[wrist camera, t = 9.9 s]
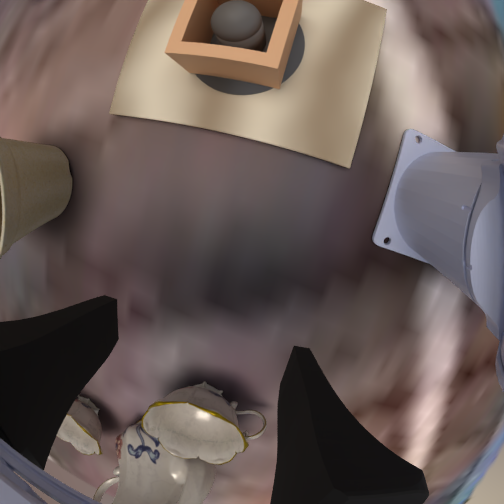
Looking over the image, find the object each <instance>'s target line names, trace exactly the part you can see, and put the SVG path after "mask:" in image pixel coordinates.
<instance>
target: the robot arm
mask: <svg viewBox="0 0 504 504" xmlns="http://www.w3.org/2000/svg"><path fill="white" fill-rule="evenodd" d="M416 136H418V137H419V139H420V141H419V143H417V142H416V140H415V137H416ZM496 149H497V152H498V154H496V153H476V152H456V151H454V150H452V149H450V148H449V147H447V146H445V145H443V144H441V143H439V142H438V141H436V140H434V139H432V138H430V137H428V136H426V135H424V134H422V133H420V132H418V131H416V130H414V129H408V130H406V131H405V132H404V134H403V138H402V142H401V146H400V150H399V153H398V157H397V161H396V164H395V168H394V171H393V175H392V178H391V181H390V185H389V188H388V191H387V194H386V198H385V201H384V204H383V207H382V210H381V213H380V216H379V219H378V222H377V224H376V227H375V230H374V233H373V236H372V239H373V242H374V243H375V244H376V245H378V246H380V247H383V248H386V249H389V250H392V251H395V252H398V253H401V254H403V255H406V256H409V257H412V258H415V259H418V260H420V261H423V262H426V263H429V264H431V265H432V266H433V267H435V268H436V269H437V270H438V271H439V272H441V273H442V274H443V275H444V276H445V277H446V278H448V279H449V280H450V281H451V282H452V283H453V284H455V285H456V286H457V287H458V288H459V289H460V290H461V291H462V292H464V293H465V294H466V295H467V296H468V297H469V298H470V299H471V300H472V301H473V302H474V303H476V304H477V305H478V306H479V307H480V308H481V309H482V310H483V312H484V313H485V315H486V319H487V328H488V329H489V330H490V331H491V332H492V333H493V334H494V335H495V336H496V338H497V339H498V340H500V342H499V347H498V351H497V355H496V373H497V377H498V381H499V384H500V386H501V388H502V390H503V392H504V135H503V137H502V140H500V141H498V142H497V145H496ZM386 237H389V241H388V242H387V243H384V239H385V238H386ZM118 339H119V337H118V319H117V299H114V298H111V297H108V296H105V295H104V296H100V297H97V298H93V299H90V300H87V301H84V302H82V303H79V304H76V305H73V306H70V307H67V308H64V309H61V310H58V311H54V312H51V313H48V314H44V315H41V316H37V317H32V318H27V319H22V320H16V321H6V322H0V504H47V503H46V502H45V501H44V500H43V499H42V498H40V497H39V496H38V495H37V494H36V493H35V492H34V491H33V490H32V489H31V487H30V486H29V485H28V484H27V483H26V482H25V481H23V480H22V479H21V478H20V477H19V476H17V475H16V474H15V473H14V472H13V471H15V472H16V473H17V474H18V475H20V476H21V477H22V478H24V479H25V480H26V481H28V482H29V483H30V484H32V485H33V486H35V487H36V488H37V489H39V490H40V491H42V492H44V493H45V494H46V495H48V496H50V497H51V498H53V499H54V500H56V501H57V502H59V503H61V504H101V503H99V502H97V501H95V500H93V499H91V498H89V497H87V496H85V495H83V494H82V493H80V492H78V491H76V490H74V489H72V488H71V487H69V486H67V485H66V484H64V483H62V482H61V481H59V480H57V479H56V478H54V477H52V476H51V475H49V474H48V473H46V472H45V471H43V470H44V468H45V464H46V461H47V458H48V456H49V453H50V450H51V447H52V445H53V442H54V440H55V438H56V435H57V433H58V431H59V429H60V427H61V425H62V423H63V421H64V419H65V417H66V415H67V413H68V411H69V410H70V408H71V406H72V404H73V403H74V401H75V399H76V398H77V396H78V395H79V393H80V392H81V391H82V389H83V388H84V387H85V385H86V384H87V383H88V382H89V380H90V379H91V378H92V377H93V375H94V374H95V373H96V372H97V370H98V369H99V368H100V367H101V365H102V364H103V363H104V362H105V360H106V359H107V358H108V356H109V355H110V353H111V351H112V350H113V348H114V346H115V345H116V343H117V341H118ZM428 496H429V491H428V488H427V484H426V480H425V477H424V474H423V471H422V470H421V469H419V468H417V467H416V466H414V465H412V464H410V463H409V462H407V461H405V460H404V459H402V458H400V457H399V456H398V455H396V454H395V453H393V452H392V451H391V450H389V449H388V448H387V447H385V446H384V445H383V444H382V443H380V442H379V441H378V440H377V439H376V438H375V437H374V436H372V435H371V434H370V433H369V432H368V431H367V430H366V429H365V428H364V427H363V426H362V425H361V424H360V423H359V422H358V421H357V420H356V418H355V417H354V416H353V415H352V414H351V413H350V412H349V410H348V409H347V408H346V407H345V405H344V404H343V403H342V401H341V400H340V399H339V397H338V396H337V394H336V393H335V391H334V390H333V388H332V387H331V385H330V383H329V382H328V380H327V379H326V377H325V375H324V374H323V372H322V370H321V368H320V366H319V365H318V363H317V361H316V359H315V357H314V355H313V354H312V352H311V350H310V349H309V348H304V347H298V346H294V347H293V350H292V353H291V356H290V359H289V361H288V364H287V367H286V370H285V372H284V375H283V378H282V381H281V383H280V390H279V398H278V448H277V464H276V472H275V479H274V485H273V491H272V497H271V503H270V504H423V503H424V502H425V500H426V499H427V498H428Z"/></svg>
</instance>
